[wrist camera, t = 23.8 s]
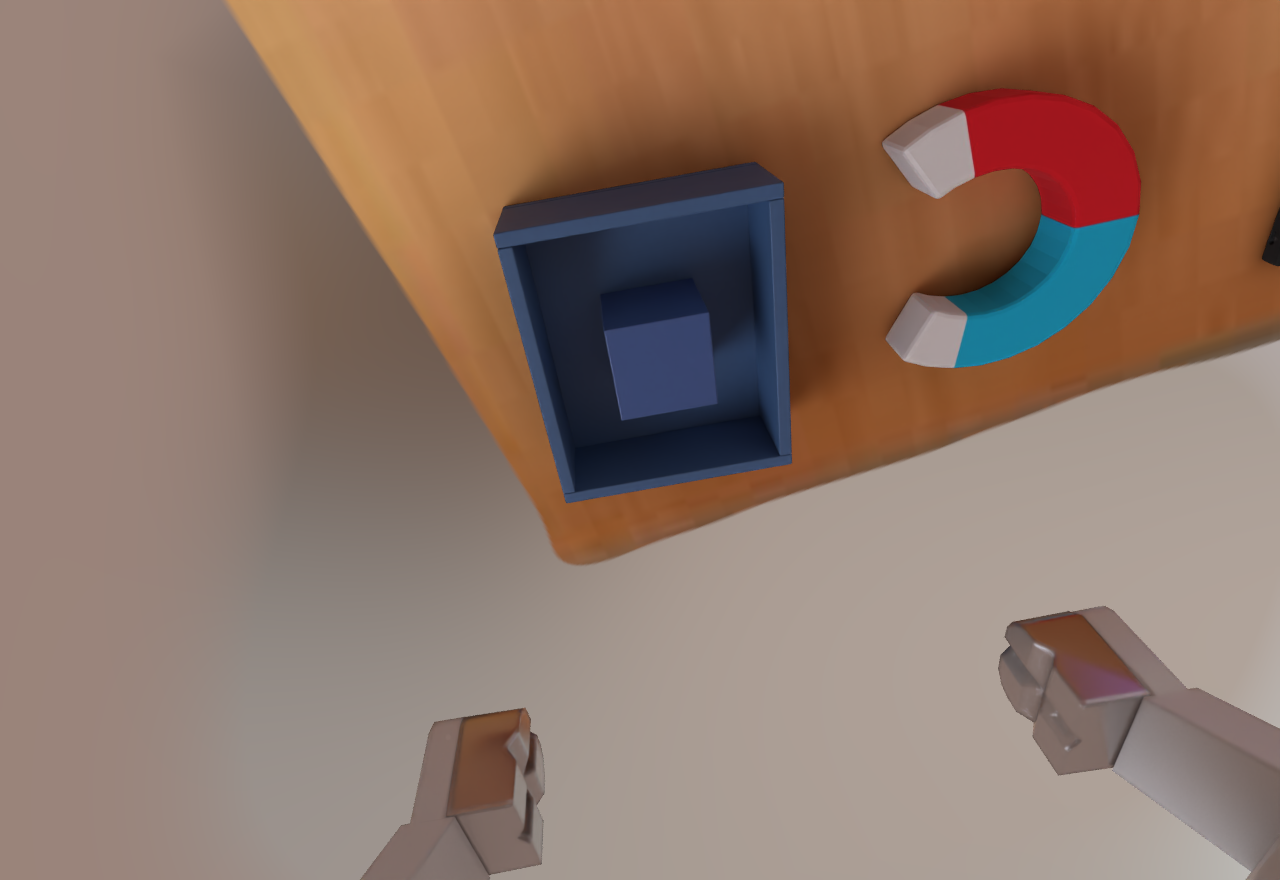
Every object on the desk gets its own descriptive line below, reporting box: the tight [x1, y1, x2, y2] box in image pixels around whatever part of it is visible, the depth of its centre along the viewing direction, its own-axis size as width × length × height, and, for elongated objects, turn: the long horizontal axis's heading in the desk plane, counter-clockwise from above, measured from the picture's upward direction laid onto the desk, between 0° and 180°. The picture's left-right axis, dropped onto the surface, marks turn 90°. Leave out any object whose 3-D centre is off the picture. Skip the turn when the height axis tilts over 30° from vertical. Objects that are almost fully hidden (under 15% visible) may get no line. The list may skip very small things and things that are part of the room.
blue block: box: [600, 278, 718, 420], centre depth 30 cm, size 4×4×4 cm
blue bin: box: [493, 162, 792, 503], centre depth 30 cm, size 13×11×4 cm
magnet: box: [882, 88, 1141, 368], centre depth 29 cm, size 12×3×10 cm
